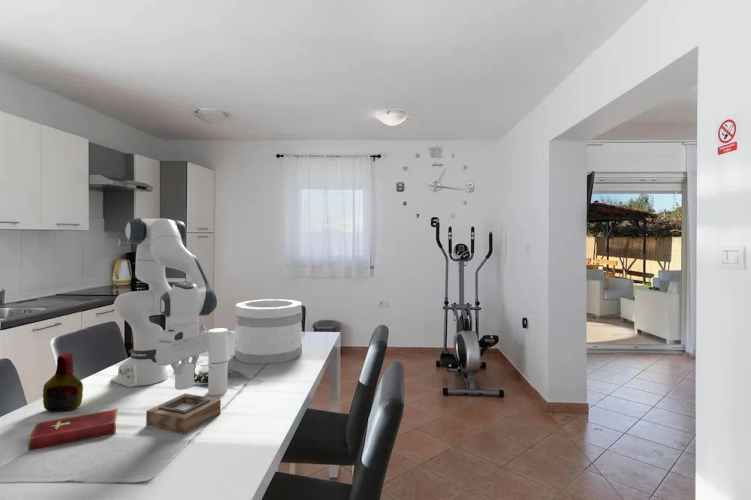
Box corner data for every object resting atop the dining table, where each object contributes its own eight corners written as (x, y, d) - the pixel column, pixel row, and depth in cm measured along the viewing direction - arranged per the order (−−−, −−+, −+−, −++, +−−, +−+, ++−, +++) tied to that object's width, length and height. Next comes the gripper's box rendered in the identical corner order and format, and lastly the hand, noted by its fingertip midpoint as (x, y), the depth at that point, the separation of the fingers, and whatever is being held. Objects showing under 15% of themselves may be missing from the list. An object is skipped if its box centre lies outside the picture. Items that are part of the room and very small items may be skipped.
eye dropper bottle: (177, 386, 134) (178, 350, 135) (194, 385, 136) (195, 350, 136) (173, 390, 130) (174, 353, 131) (191, 389, 131) (192, 353, 132)
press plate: (165, 413, 131) (165, 410, 131) (184, 404, 139) (184, 401, 139) (184, 417, 128) (184, 414, 128) (202, 407, 136) (202, 405, 136)
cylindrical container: (220, 396, 154) (221, 332, 154) (204, 394, 156) (204, 331, 155) (230, 389, 161) (231, 328, 161) (215, 387, 163) (215, 327, 162)
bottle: (87, 405, 144) (87, 350, 144) (75, 412, 138) (75, 356, 137) (51, 406, 143) (51, 351, 142) (38, 414, 136) (38, 356, 136)
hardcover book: (115, 435, 123) (115, 422, 123) (27, 453, 112) (27, 438, 112) (117, 420, 133) (117, 408, 133) (36, 435, 123) (36, 421, 123)
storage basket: (294, 364, 195) (294, 309, 194) (223, 363, 195) (224, 308, 195) (307, 346, 230) (307, 299, 229) (247, 345, 230) (248, 298, 230)
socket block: (146, 425, 129) (146, 409, 129) (184, 406, 144) (184, 391, 144) (184, 434, 123) (184, 417, 123) (220, 413, 139) (220, 398, 138)
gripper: (200, 324, 144) (200, 361, 144) (152, 336, 125) (152, 379, 125) (214, 325, 142) (214, 363, 142) (167, 337, 122) (167, 382, 123)
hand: (185, 371), depth 133 cm, fingers closed on eye dropper bottle, 5 cm apart
